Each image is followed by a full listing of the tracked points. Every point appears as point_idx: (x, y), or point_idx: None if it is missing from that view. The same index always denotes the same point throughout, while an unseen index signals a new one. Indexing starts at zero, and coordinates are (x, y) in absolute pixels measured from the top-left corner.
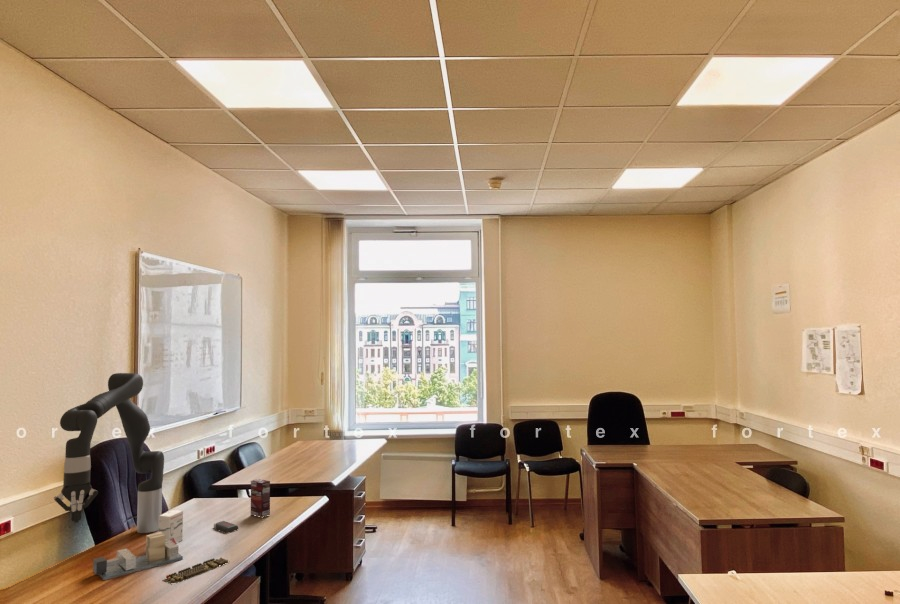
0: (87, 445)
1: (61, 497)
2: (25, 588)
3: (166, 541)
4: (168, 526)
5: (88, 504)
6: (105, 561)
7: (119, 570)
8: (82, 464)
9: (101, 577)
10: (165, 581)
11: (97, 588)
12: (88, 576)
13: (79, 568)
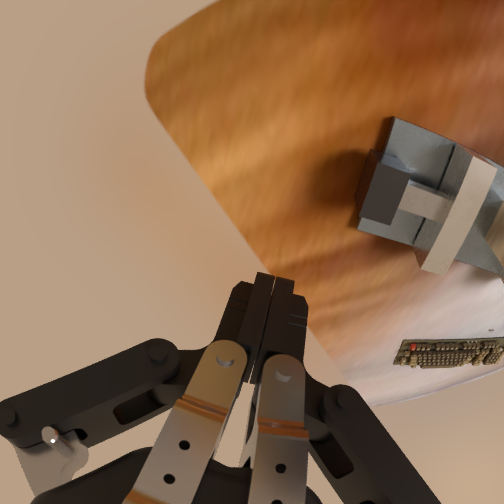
0: None
1: (65, 467)
2: (187, 69)
3: None
4: None
5: (334, 441)
6: (385, 222)
7: (411, 221)
8: None
9: None
10: (400, 348)
11: (315, 260)
12: (353, 145)
13: (373, 35)
